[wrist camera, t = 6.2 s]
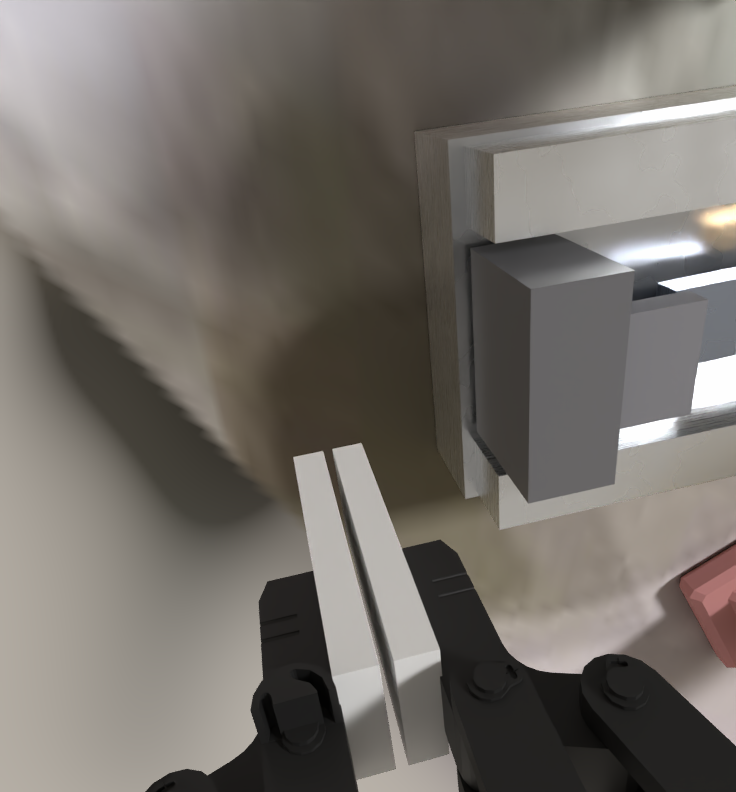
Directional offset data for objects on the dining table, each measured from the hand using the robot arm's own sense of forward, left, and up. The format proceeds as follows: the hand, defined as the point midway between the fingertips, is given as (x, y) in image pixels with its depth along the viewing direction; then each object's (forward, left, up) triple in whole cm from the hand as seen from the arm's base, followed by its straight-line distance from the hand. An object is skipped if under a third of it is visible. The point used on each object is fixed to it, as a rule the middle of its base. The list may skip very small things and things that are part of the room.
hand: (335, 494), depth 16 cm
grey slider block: (0, +9, -6) cm, 11 cm away
